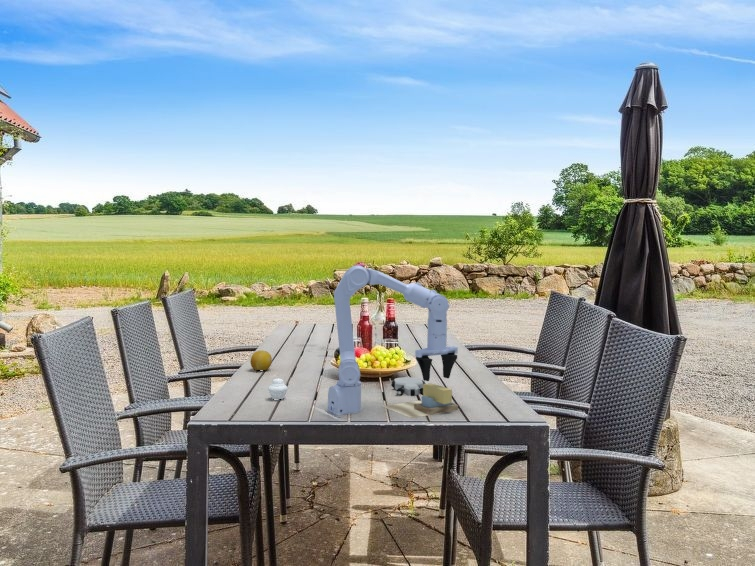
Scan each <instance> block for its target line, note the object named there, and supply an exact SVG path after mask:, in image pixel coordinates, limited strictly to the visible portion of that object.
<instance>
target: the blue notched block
mask: <svg viewBox="0 0 755 566" xmlns="http://www.w3.org/2000/svg"><path fill="white" fill-rule="evenodd" d="M421 400H422V406H425V407H427V408H436V407H442V406H448V405H451V403H448V404H442V403H439V402H436V401H434V399H433V398H430V397H427V396H423V395H422V396H421Z"/></svg>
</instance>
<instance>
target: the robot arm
mask: <svg viewBox="0 0 755 566" xmlns="http://www.w3.org/2000/svg"><path fill="white" fill-rule="evenodd" d="M368 284H369V285H370V286H373V285H381V286H383V287H386V288H388V289H390V290H393V291H395V292H397V293H400V294H402V295H403V298H404V300H405V301H407V302H409V303H411V304H413V305H416V306H419V307H421V308H423V309H428V313H427V315H428V317H427V338H426V339H427V345H426V346H427V347H424V348H420V349H415V351H414V357H415V360H416V362H417V363H418V366H419V368H420V372H421V375H422V380H423V381H424V380H425V382H430V378H431V367H432V363H433V359H432V358H430V357H431V356H433V357H434V356H441V362H442V377H443V378H444V379H450V377H451V373H452V370H453V366H454V364H455V362H456V361H457V359H458V355H457V354H458V352H459V351H458V350H459V349H458V346H447V339H448V337H447V333H448V319H447V313H448V311H449V308H450V304H449V301H448V299H447V298H446V296H445V295H442V294H440V293H439V292H437V291H436V290H435V289H429V288H426V287H425V286H422V283H420V282H418V281H417V282H416V283H415V282H410V283H408V284H407V283H404V282H402V281H400V280H398V279H396V278H394V277H392V276H391V275H388V274H385V273H384V272H382V271H379V270H376V269H372V268H369V267H363V266H362V265H358V264H357V265H353V266H351V267H350V268H348V269H347V270H346V271H345V272H344V273H343V275H342V277H341V279H340V280H339V282H338V285H337V286H336V288H335V289H334V292H333V300H334V307H335V308H334V310H335V317H336V327H337V338H338V339H337V340H338V347H339V359H340V363H339V365H338V378H339V379H338V380H337V382H336V384H335V385H332V386H330V387H329V388H328V391H327V392H328V393H327V411H326V413H327V414H329V415H331V416H333V417H336V418H338V419H342V417H341V415H347V414H348V415H349V414H357V413H360V412H361V411H362V381H361V380H360V379H361V371H360V365H359V363H358V362H357V360H356V352H355V351H356V350H355V340H354V332H353V331H354V330H353V321H352V311H351V303H350V302H351V301H350V299H351V298H352V297H353V295H355V293H356V292H357V291H358V290H361V289H362V288H364V287H365V286H366V285H368ZM339 415H340V416H339Z"/></svg>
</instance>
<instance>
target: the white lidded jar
mask: <svg viewBox="0 0 755 566" xmlns="http://www.w3.org/2000/svg"><path fill="white" fill-rule="evenodd" d="M287 392H288V386H287V385H286V384H285V383H284V380H283V379H282V378H279V377H277V378H273V380H272V381H271V384H270V385H269V386H268V393H269V395H270V397H271V399H272V400H273V399H278V400H277V401H280V400H279V399H282V400H284V398H285V396H286V394H287Z"/></svg>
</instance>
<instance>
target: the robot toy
mask: <svg viewBox="0 0 755 566" xmlns="http://www.w3.org/2000/svg"><path fill="white" fill-rule="evenodd" d="M389 382H390V386H391V387H392V388H393V389H394V390H396V391H395V395H399V396H401V395H403V394H404V396H405V395H406V396H410V397H413V396H418V395H419V394H421V395H423V384H427V382H426V381H425V380H423V379H421V378H420V377H409V376H405V377H397V378H396V377H395V378H394V379H393V380H391V378H389Z"/></svg>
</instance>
